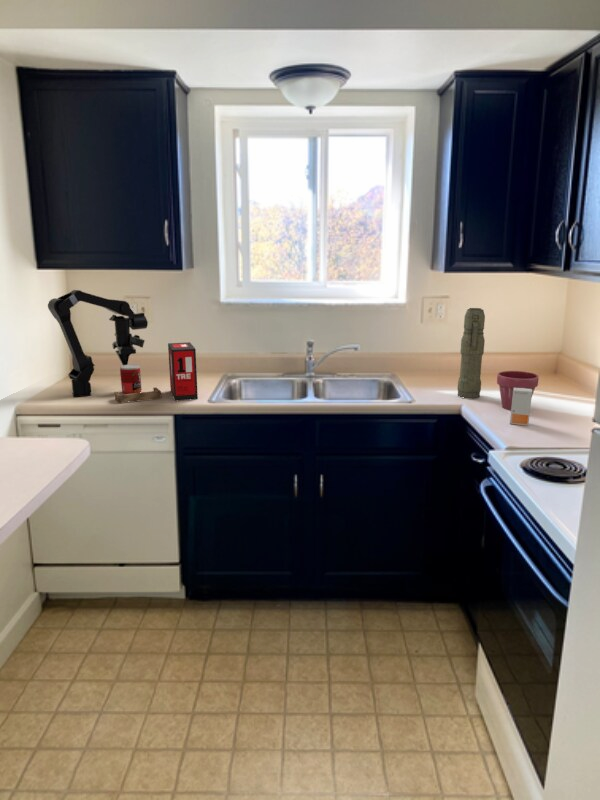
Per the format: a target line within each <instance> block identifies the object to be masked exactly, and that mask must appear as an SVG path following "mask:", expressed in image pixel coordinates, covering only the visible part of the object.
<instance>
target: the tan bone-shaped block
mask: <svg viewBox="0 0 600 800" xmlns="http://www.w3.org/2000/svg"><path fill="white" fill-rule="evenodd" d="M160 398H161V399H162V393H161V390H160V389H159V388H157V387H153V388H152V391H151V390H150V391H141V393H132V394H123V393H122V394H121V393H120V392H119V391H114V400H115V401H116V402H117V403H118V404H123V403H122V402H126V403H129V402H128V401H135V402H138V401H137V400H143V401H149V399H152V400H159V399H160ZM161 399H160V400H161Z"/></svg>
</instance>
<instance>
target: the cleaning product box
mask: <svg viewBox="0 0 600 800" xmlns="http://www.w3.org/2000/svg"><path fill="white" fill-rule="evenodd" d="M167 347H168V366H169V383H170V385H169V387H170V392H171V394H172V397H174V398H173V400H174V401H175V402H176V401H177V400H178V401H188V400H189V401H191V400H198V399H199V396H198V394H199V393H198V377H197V376H198V375H197V373H198V371H197V355H196V354H197V351H196V347H195V346H194V345H193V344H192V343H191V342H170V343H168V344H167ZM190 399H191V400H190Z"/></svg>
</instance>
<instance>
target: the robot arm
mask: <svg viewBox="0 0 600 800" xmlns="http://www.w3.org/2000/svg"><path fill="white" fill-rule="evenodd" d="M79 302H82V303H85V304H89V305H93V306H98V307H100V308H103V309H106V310H107V311H109V312H111V313H114V314H112V316H111V317H110V318H109V321H111V322H114V330H115V332H114V336H115V341H113V342H112V344H111V345H112V349H113V350H115V349H117V350H115V353H116V355H117V357H118V359H119V361H120V363H121V366H123V365H129V358H130V356H131V355H132V354H133V355H134V354H137V349H136V348H135V347H134V346H137V347H139V348H144V344H145V341H146V340H145V339H143V338H141V337H140V335H139V334H134V336H133V335H132V333H131V331H130V330H131V329H132V330H133V331H135V330H136V331H137V330H144V329H147V328H148V324H149V322H148V320H147V317H146V316H145V312H138V313H135V312H134V310H132V308H131V305H130V304H129V302H128V301H126V300H120V299H119V300H118V299H110V298H104V297H102V296H98V295H95V294H91V293H88V292H85V291H82V290H79V289H73V290H72V291H70V292H68V293H66V294H63V295H61V296H59V297H57V298H55V297H54V298H51V299H50V300H49V301H48V304H47V308H48V310H49V312H50V314H51V315H52V317H53V318H54V319H55V320H56V321H57V323H58V325H59V327H60V329H61V332H62V334H63V336H64V339H65V341H66V343H67V346H68V348H69V351H70V353H71V356H72V359H71V361H72V362H71V363H72V367H73V368H72V369H71V371H70V372H69V373H68V374H67V375H68V377H69V379H70V380H71V381H70V382H71V390H72V392H71V395H72V396H73V398H78V397H88V396H91V395H92V394H91V393H92V385H91V382H90V381H91V378H92V375H93V373H94V371H95V364H94V362H93V359H92V356H90V355H87V354H85V353H84V350H83V347H82V345H81V342H80V340H79V337H78V335H77V333H76V330H75V328H74V325H73V322H72V320H71V315H72V313H71V308H73V307H75V305H77V304H78V303H79ZM116 314H117V315H118V316H117V315H116ZM125 316H126V317H125Z"/></svg>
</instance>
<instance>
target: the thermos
mask: <svg viewBox="0 0 600 800" xmlns="http://www.w3.org/2000/svg"><path fill="white" fill-rule="evenodd" d="M484 311H485V310H484V309H482V308H481V307H480V308H479V307H469V308H467V309H466V312H465V314H464V321H463V335H462V337H461V340H460V350H459V351H460V355H461V357H460V369H459V378H458V380H457V395H458V396H460V397H464V398H463V399H465V398H477V399H479V398H481V397H480V395H481V390H482V380H481V375H482V372H481V371H482V362H483V355H484V351H485V336H484V333H485V332H484V330H485V322H486V321H485V320H486V315H485V312H484ZM458 396H457V397H458ZM460 397H459V398H460Z"/></svg>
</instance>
